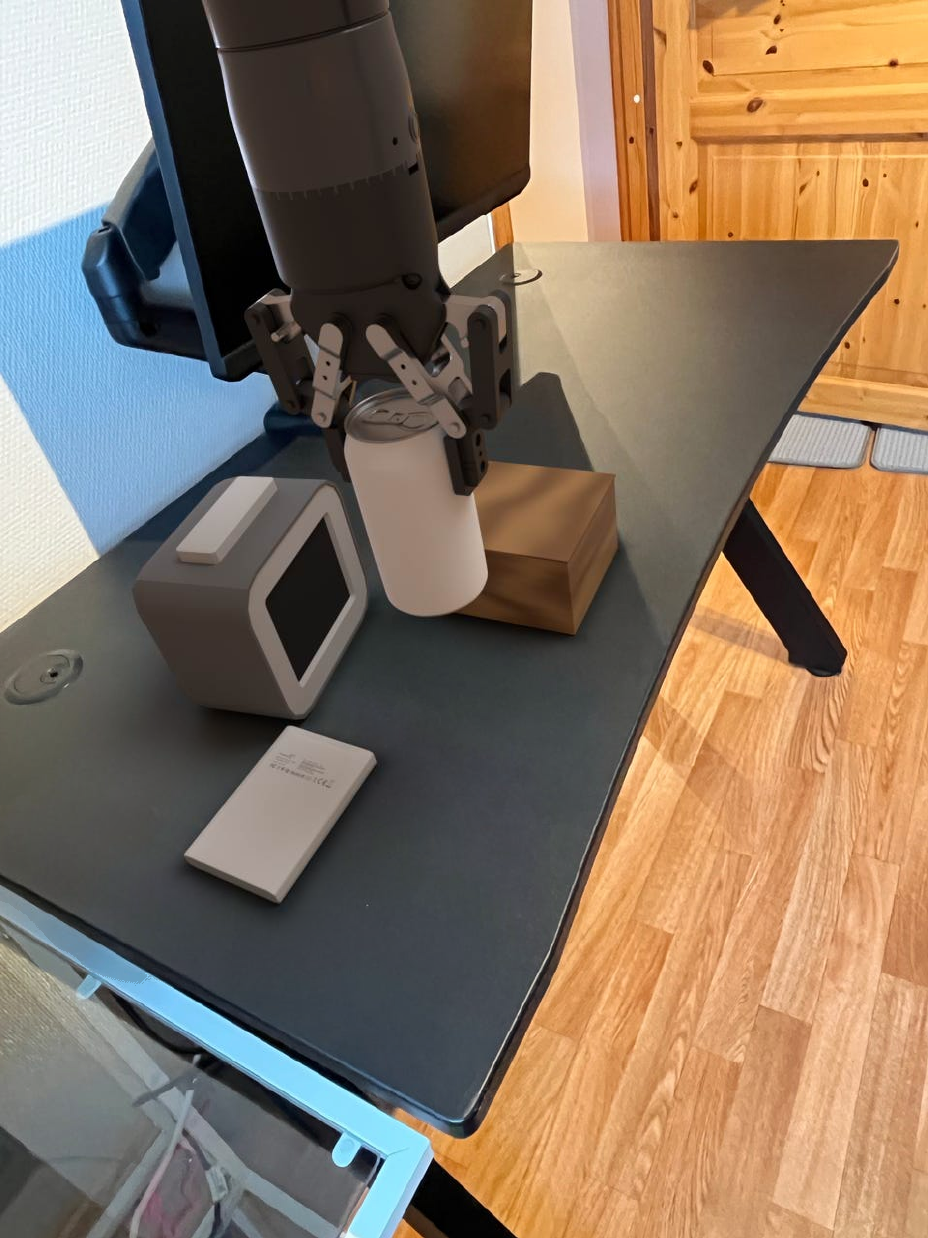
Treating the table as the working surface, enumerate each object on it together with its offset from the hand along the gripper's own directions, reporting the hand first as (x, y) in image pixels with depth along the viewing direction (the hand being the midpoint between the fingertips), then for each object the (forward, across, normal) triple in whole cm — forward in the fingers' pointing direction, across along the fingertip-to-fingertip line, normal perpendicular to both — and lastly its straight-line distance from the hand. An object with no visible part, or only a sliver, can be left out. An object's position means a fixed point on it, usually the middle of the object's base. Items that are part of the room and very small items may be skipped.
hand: (412, 480), depth 47 cm
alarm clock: (+24, -21, +5) cm, 32 cm away
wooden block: (+24, -4, +19) cm, 31 cm away
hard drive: (+24, -11, -10) cm, 28 cm away
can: (+8, 0, 0) cm, 8 cm away
